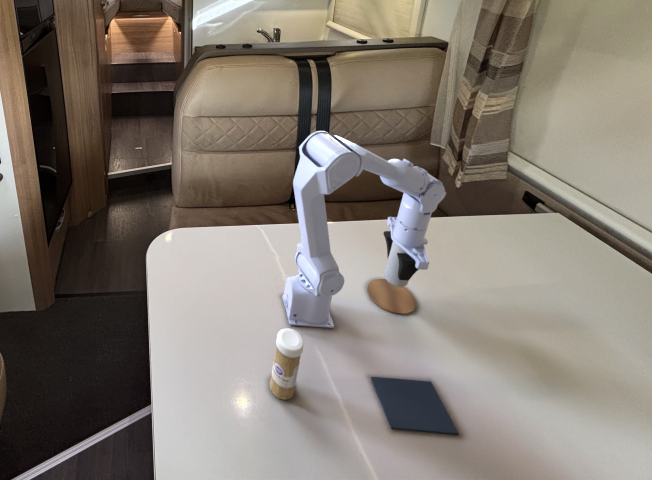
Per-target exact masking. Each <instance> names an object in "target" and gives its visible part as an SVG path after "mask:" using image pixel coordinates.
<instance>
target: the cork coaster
mask: <svg viewBox="0 0 652 480" xmlns="http://www.w3.org/2000/svg"><path fill="white" fill-rule="evenodd" d="M366 289H367V294H368V297H369V298H370V300H372V301H373V303H374V304H375V305H376V306H378V307H379V308H380V309H382V310H384V311H387V312H389V313H392V314H394V315H402V316H403V315H409V314H411V313H413V312H414V311H415V309H416V307H417V302H416V299H415V297H414V295H413V294H412V293H411V292H410V291H409V290H408V288H406V286H404V287H397V286H394V285H392V284H390V283H389V282H388V281H387V280H386V278H375V279H373V280H371V281H369V283H368V285H367V288H366Z"/></svg>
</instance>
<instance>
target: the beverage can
mask: <svg viewBox="0 0 652 480" xmlns="http://www.w3.org/2000/svg"><path fill="white" fill-rule="evenodd" d="M397 253H406V252H405V251H404V250H403V249H401V248H400V247H399V246H398V245H397V244H396V243H395V242H394V241H393V243H392V247H391V250H390V254H389V258H388V257H387V262H386V265H385V269H384V273H383V277H384V279H386V280H387V281H388V282H389V283H390V284H392V285H394V286H397V287H406V286H407V285H409V281H407V280H399V278H398V270H399V259H398V256H397ZM406 254H407V253H406Z"/></svg>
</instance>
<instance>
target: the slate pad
mask: <svg viewBox="0 0 652 480" xmlns="http://www.w3.org/2000/svg"><path fill="white" fill-rule="evenodd" d="M370 380H371V383H372V386H373V388H374V391H375V393H376V396H377V397H378V399H379V402H380V405H381V407H382V410H383V412H384V415H385V417H386V420H387V422H388V424H389V426H390V429H391V430H397V431H406V432H418V433H427V434H440V435H450V436H459V434H460V433H459V431H458V429H457V427H456V425H455V424H454V421H453V420H452V418H451V416H450V414H449V413H448V410H447V408H446V407H445V405H444V403H443V401H442V399H441V398H440V395H439V394H438V392H437V390H436V388H435V386H434V385H433V382H432V381H430V380H420V379H419V380H418V379H405V378H395V377H394V378H393V377H381V376H370Z"/></svg>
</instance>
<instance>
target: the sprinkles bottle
mask: <svg viewBox="0 0 652 480" xmlns="http://www.w3.org/2000/svg"><path fill="white" fill-rule="evenodd" d="M275 339H276V340H275V345H276V346H275V352H274V358H273V362H272V368H271V376H270V380H269V389H270V391H271V393H272V394H273V395H274V396H275V397H276V398H277V399H280V400H285V401H286V400H289V399H291V398H293V397H294V395H295V386H296V383H297V379H298V378H297V377H298V372H299V367H300V363H301V362H300V360H301V355H302V354H303V351H304V345H305V341H304V339H303V337H302V335H301V334H300V333H299V332H298V331H296V330H295V329H293V328H288V327H286V328H281V329H280V330H279V331H278V332H277V334H276V338H275Z"/></svg>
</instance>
